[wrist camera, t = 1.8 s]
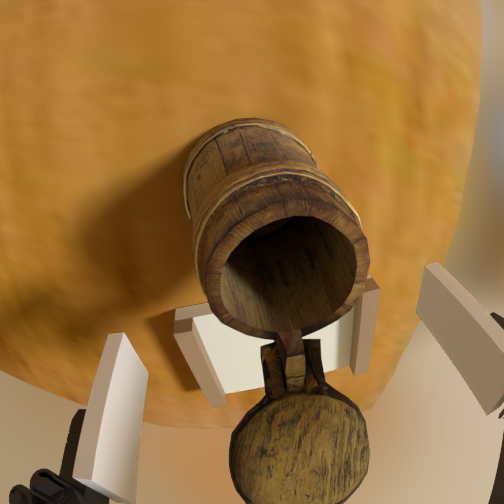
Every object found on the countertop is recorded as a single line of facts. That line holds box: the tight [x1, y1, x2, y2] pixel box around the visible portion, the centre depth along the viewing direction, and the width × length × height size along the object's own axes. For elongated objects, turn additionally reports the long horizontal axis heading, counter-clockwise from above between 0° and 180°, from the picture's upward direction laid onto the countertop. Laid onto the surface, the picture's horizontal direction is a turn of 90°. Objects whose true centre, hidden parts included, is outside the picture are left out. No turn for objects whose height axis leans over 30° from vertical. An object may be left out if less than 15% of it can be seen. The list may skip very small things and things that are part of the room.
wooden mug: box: [183, 118, 370, 504], centre depth 13 cm, size 9×14×18 cm, turn 2°
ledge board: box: [173, 273, 380, 408], centre depth 26 cm, size 11×16×3 cm
